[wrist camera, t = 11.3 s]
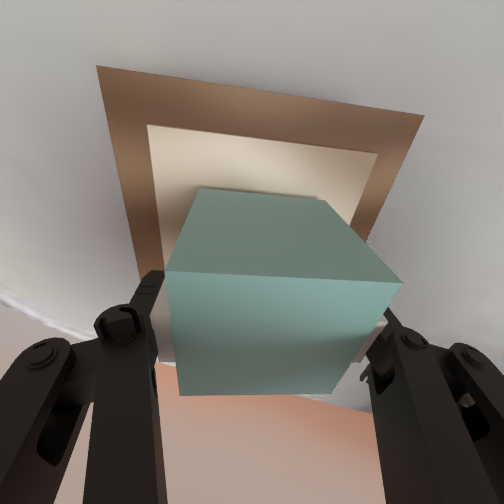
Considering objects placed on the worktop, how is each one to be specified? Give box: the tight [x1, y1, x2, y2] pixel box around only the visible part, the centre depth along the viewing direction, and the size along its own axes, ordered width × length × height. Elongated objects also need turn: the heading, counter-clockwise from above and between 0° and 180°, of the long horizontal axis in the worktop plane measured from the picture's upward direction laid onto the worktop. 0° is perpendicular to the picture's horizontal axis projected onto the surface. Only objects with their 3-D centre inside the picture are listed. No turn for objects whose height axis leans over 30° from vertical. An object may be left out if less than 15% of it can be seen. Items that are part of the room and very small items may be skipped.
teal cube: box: [164, 188, 403, 396], centre depth 11 cm, size 7×7×7 cm
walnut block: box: [96, 65, 424, 280], centre depth 18 cm, size 16×16×8 cm
